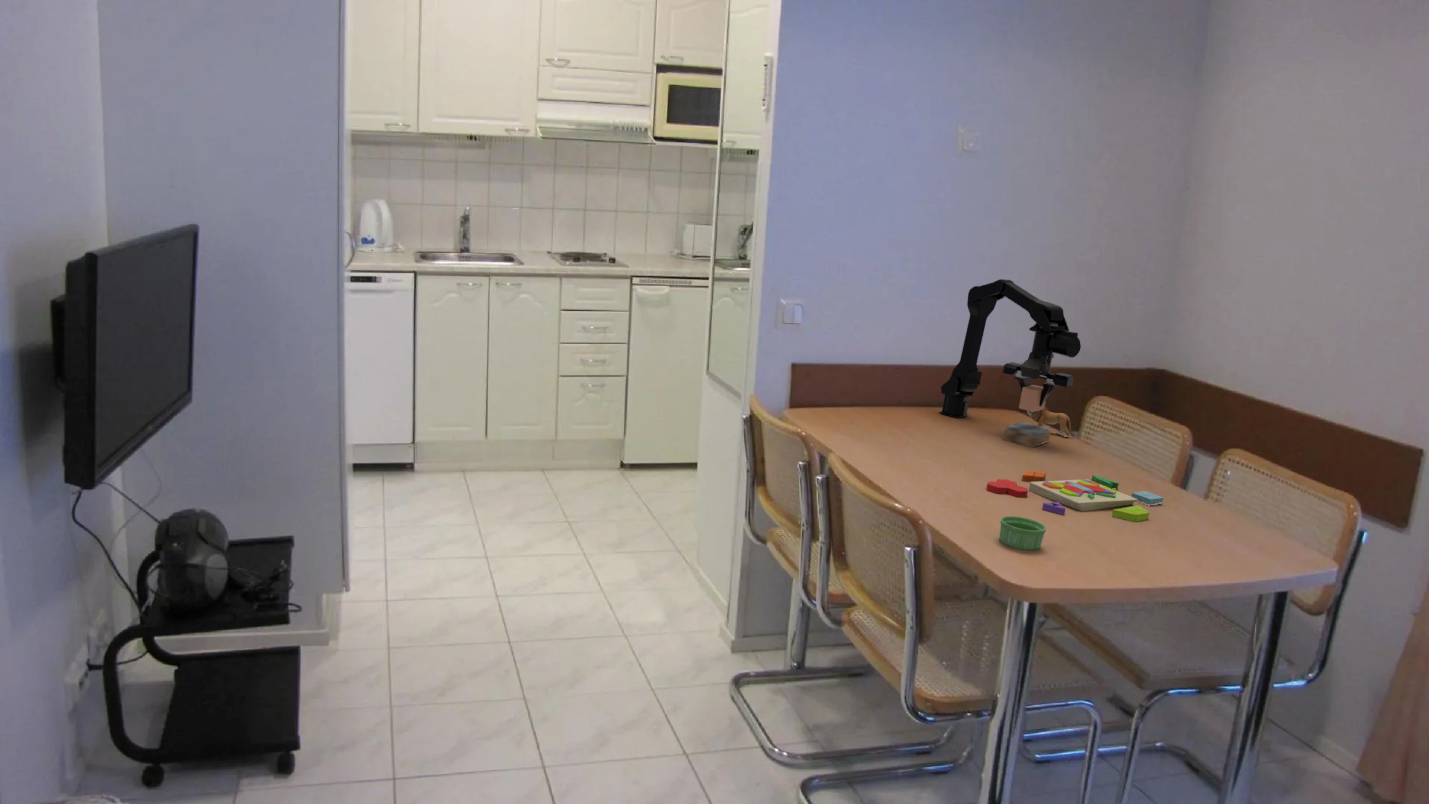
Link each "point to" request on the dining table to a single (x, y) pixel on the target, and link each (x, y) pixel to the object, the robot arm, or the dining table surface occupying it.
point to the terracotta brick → (1031, 398)
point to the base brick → (1026, 434)
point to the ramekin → (1021, 532)
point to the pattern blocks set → (1079, 495)
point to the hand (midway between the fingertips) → (1032, 404)
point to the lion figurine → (1051, 419)
